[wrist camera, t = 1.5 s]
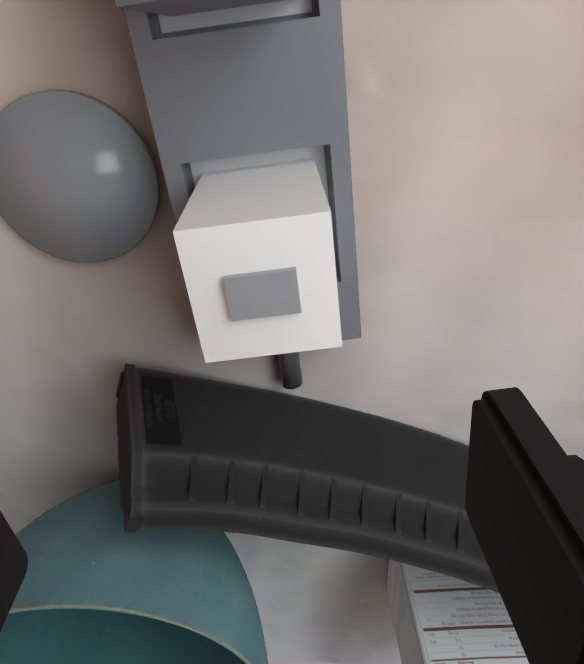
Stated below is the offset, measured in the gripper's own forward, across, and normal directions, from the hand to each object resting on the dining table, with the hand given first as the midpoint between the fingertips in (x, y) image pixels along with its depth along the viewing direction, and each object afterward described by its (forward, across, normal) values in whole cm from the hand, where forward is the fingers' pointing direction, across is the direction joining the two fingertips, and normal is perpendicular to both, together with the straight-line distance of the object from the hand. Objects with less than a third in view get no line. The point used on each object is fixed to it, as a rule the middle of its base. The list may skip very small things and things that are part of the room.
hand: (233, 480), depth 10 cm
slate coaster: (+19, +8, -2) cm, 20 cm away
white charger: (+16, -1, 0) cm, 17 cm away
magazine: (+18, -5, +16) cm, 25 cm away
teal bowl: (+19, +11, +22) cm, 31 cm away
